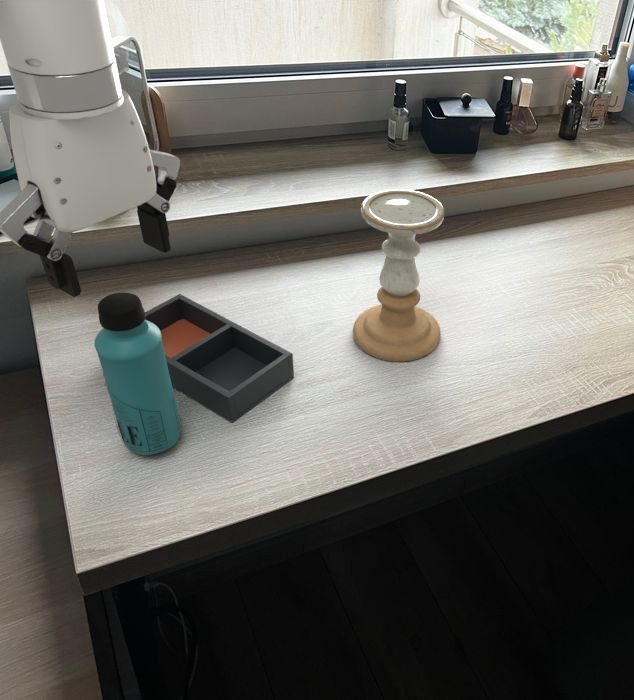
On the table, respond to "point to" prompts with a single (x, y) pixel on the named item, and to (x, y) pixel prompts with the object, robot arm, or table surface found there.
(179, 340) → the two compartment tray
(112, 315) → the beverage bottle
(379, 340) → the candle holder
